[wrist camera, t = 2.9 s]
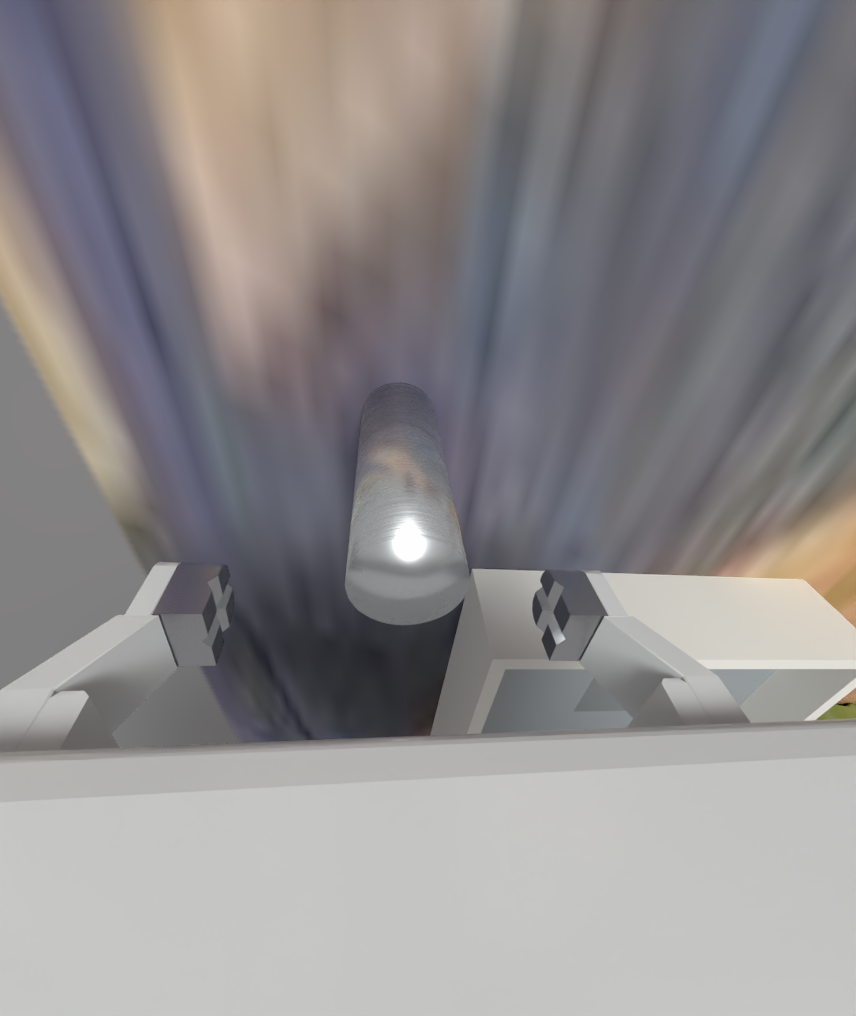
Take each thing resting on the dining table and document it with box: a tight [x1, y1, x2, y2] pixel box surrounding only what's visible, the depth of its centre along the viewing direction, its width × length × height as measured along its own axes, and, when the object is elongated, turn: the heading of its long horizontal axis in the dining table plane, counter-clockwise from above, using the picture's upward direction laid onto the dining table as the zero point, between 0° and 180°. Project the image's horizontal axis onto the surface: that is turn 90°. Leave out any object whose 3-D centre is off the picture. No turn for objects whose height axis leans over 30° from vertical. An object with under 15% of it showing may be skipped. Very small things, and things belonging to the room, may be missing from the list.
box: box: [430, 569, 856, 735], centre depth 31 cm, size 22×22×6 cm
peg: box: [345, 383, 470, 625], centre depth 15 cm, size 3×3×10 cm
